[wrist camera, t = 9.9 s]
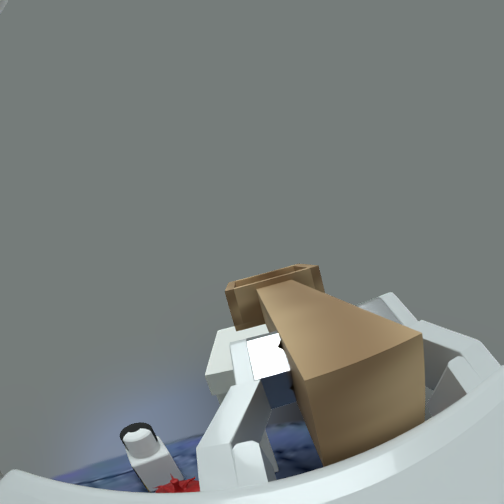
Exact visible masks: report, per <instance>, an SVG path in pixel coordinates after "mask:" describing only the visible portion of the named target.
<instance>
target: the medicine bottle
mask: <svg viewBox="0 0 504 504" xmlns="http://www.w3.org/2000/svg"><path fill="white" fill-rule="evenodd" d="M120 438H121V440H122V442H123V444H124V445H125V447H126V448H125V449H126V452H127V455H128V458H129V460H130V463H131V466H132V468H133V469H134V471H135V472H136V474H137V475H138V477H139V478H140V480H141V481H142V482H143V484H144V485H145V487H146V488H147V489H148V491H149V492H153V491H156V490H157V489H158V488H155V487H157V486H160V485H162V486H163V485H166V484H168V483H170V480H172V477H171V475H172V476H173V478H177V479H178V480H179V481H182V480H184V477H183V475H182V474H181V472H180V470H179V469H178V467H177V465H176V464H175V462H174V460H173V458H172V457H171V455H170V453H169V452H168V450H167V449H166V447H165V445H164V444H163V442H162V441H161V439H160V437H158V436H156V435H155V433H154V431H153V429H152V427H151V426H150V425H149V424H146V423H134V424H131V425H129V426H127V427H125V428H124V429H123V430H122V431H121V433H120ZM170 473H171V475H170Z"/></svg>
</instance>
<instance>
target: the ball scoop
mask: <svg viewBox="0 0 504 504" xmlns="http://www.w3.org/2000/svg"><path fill="white" fill-rule="evenodd" d="M225 294H226V297H227V301H228V305H229V308H230V312H231V315H232V319H233V322H234V326H235V329H236V332H237V331H241V330H244V329H248V328H252V327H256V326H260V325H263V324H266V327H267V329H268V332H269V333H270V332H274V331H278V334H279V336H280V339H281V343H282V348H283V350H284V351H285V354H286V356H287V359H288V362H289V365H290V368H291V372H292V377H293V386H294V389H295V394H296V399H297V404H298V406H299V409H300V411H301V414H302V416H303V418H304V421H305V423H306V426H307V428H308V431H309V433H310V435H311V438H312V440H313V443H314V445H315V447H316V450H317V452H318V455H319V457H320V459H321V462H322V464H323V467H326V466H329V465H331V464H334V463H337V462H340V461H343V460H345V459H348V458H351V457H353V456H356V455H358V454H361V453H363V452H365V451H368V450H370V449H372V448H375V447H377V446H379V445H381V444H383V443H385V442H387V441H390V440H392V439H394V438H396V437H398V436H400V435H402V434H403V433H405V432H407V431H409V430H411V429H413V428H415V427H416V426H418V425H420V424H422V423H423V422H424V421H425V365H424V348H423V335H422V333H421V332H419V331H416V330H414V329H411V328H409V327H406V326H404V325H401V324H399V323H396V322H394V321H391V320H389V319H386V318H384V317H381V316H379V315H376V314H374V313H371V312H369V311H367V310H364V309H362V308H359V307H357V306H354V305H352V304H349V303H347V302H344V301H342V300H339V299H337V298H335V297H332V296H330V295H328V294H325V291H324V287H323V283H322V279H321V275H320V270H319V266H317V265H307V264H296V265H292V266H289V267H286V268H282V269H278V270H274V271H271V272H267V273H263V274H260V275H256V276H252V277H248V278H245V279H241V280H237V281H233V282H230V283H228V285H227V288H226V290H225Z"/></svg>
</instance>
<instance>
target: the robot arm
mask: <svg viewBox="0 0 504 504" xmlns="http://www.w3.org/2000/svg"><path fill="white" fill-rule="evenodd" d="M7 1H8V0H0V13H1V12H2V10H3V9H4V7H5V5H6V3H7ZM355 306H357V307H359V308H362V309H364V310H367V311H369V312H371V313H374V314H376V315H379V316H381V317H384V318H386V319H389V320H391V321H394V322H396V323H399V324H401V325H404V326H406V327H409V328H411V329H414V330H416V331H419V332H421V333H422V335H423V348H424V365H425V386H426V387H428V388H430V389H432V390H434V391H433V393H432V395H431V396H430V398H429V400H428V402H427V405H426V406H427V408H428V410H429V411H430V413H431V415H432V416H433V417H432V418H430V419H429V420H427V421H425V422H423V423H422V424H420V425H418V426H416V427H415V428H413V429H411V430H409V431H407V432H405V433H403V434H402V435H400V436H398V437H396V438H394V439H392V440H390V441H387V442H385V443H383V444H381V445H379V446H377V447H375V448H372V449H370V450H368V451H365V452H363V453H361V454H358V455H356V456H353V457H351V458H348V459H345V460H343V461H340V462H337V463H334V464H331V465H329V466H326V467H322V468H319V469H316V470H313V471H310V472H306V473H303V474H299V475H295V476H292V477H288V478H284V479H279V480H276V476H275V472H274V469H273V466H272V464H271V463H270V461H269V459H268V458H267V456H266V455H265V453H264V451H263V450H262V448H261V446H260V445H259V444H260V441H261V438H262V436H263V433H264V430H265V428H266V425H267V422H268V419H269V416H270V414H271V409H273V408H277V407H280V406H283V405H286V404H290V403H293V402H296V401H297V399H296V394H295V389H294V386H293V377H292V372H291V368H290V365H289V362H288V359H287V356H286V354H285V351H284V350H283V348H282V343H281V339H280V336H279V334H278V331H274V332H270V333H266V334H262V335H258V336H254V337H250V338H246V339H243V340H238V341H234V342H230V346H229V347H230V353H231V360H232V366H233V372H234V378H235V384H236V385H234V386H231V387H230V389H229V391H228V393H227V394H226V396H225V398H224V400H223V402H222V404H221V405H220V407H219V409H218V411H217V413H216V415H215V416H214V418H213V420H212V422H211V423H210V425H209V427H208V429H207V431H206V432H205V434H204V436H203V438H202V439H201V441H200V443H199V444H198V446H197V448H196V452H197V464H198V475H199V485H200V492H186V493H141V492H125V491H114V490H105V489H98V488H91V487H85V486H79V485H74V484H69V483H64V482H60V481H56V480H52V479H48V478H43V477H40V476H37V475H33V474H30V473H27V472H24V471H21V470H16V469H14V470H11V471H9V472H8V473H7V474H6V475H5V476H4V475H3V474H2V473H1V471H0V504H504V365H502V366H500V364H499V363H498V362H497V361H496V359H495V358H494V357H493V356H492V355H491V353H489V351H488V350H487V349H486V348H485V346H484V345H483V344H482V343H481V342H480V341H479V340H477V339H473V338H471V337H468V336H465V335H462V334H459V333H457V332H454V331H451V330H448V329H446V328H443V327H440V326H437V325H434V324H432V323H429V322H426V321H423V320H421V321H419V322H418V321H417V319H416V318H415V317H414V316H413V315H412V314H411V312H410V311H409V310H408V309H407V308H406V307H405V306H404V305H403V304H402V302H401V301H400V300H399V299H398V298H397V297H396V296H395V295H394V293H392V292H389V293H387V294H384V295H382V296H379V297H377V298H374V299H371V300H368V301H366V302H363V303H361V304H358V305H355Z"/></svg>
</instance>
